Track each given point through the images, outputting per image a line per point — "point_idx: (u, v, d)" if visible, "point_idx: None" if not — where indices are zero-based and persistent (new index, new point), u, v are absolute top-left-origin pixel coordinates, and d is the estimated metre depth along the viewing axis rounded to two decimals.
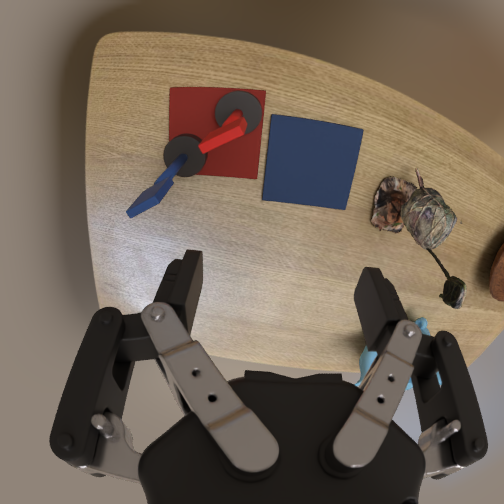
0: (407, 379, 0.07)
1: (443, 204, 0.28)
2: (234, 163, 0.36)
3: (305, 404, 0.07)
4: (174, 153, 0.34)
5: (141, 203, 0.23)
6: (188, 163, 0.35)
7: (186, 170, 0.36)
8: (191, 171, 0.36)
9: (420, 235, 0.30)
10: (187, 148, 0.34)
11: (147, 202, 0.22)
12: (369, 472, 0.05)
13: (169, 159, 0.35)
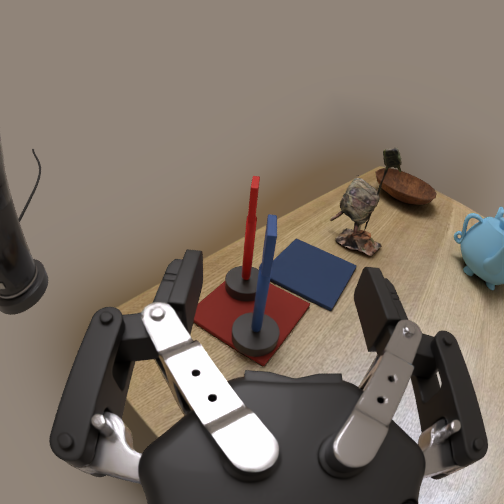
0: (407, 379, 0.07)
1: None
2: (287, 310, 0.38)
3: (305, 404, 0.07)
4: (246, 335, 0.32)
5: (268, 223, 0.24)
6: (264, 330, 0.33)
7: (270, 335, 0.32)
8: (274, 332, 0.33)
9: (368, 197, 0.47)
10: (250, 322, 0.34)
11: (270, 219, 0.25)
12: (369, 472, 0.05)
13: (249, 342, 0.31)
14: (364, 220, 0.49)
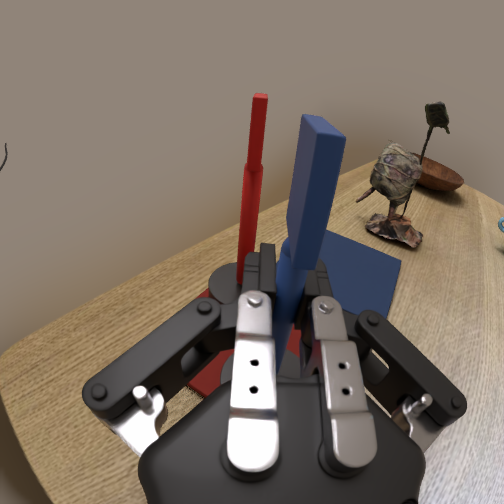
0: (356, 358, 0.08)
1: None
2: None
3: (305, 404, 0.07)
4: None
5: (309, 121, 0.08)
6: None
7: None
8: None
9: (409, 166, 0.32)
10: None
11: (311, 118, 0.09)
12: (369, 472, 0.05)
13: None
14: (404, 199, 0.34)
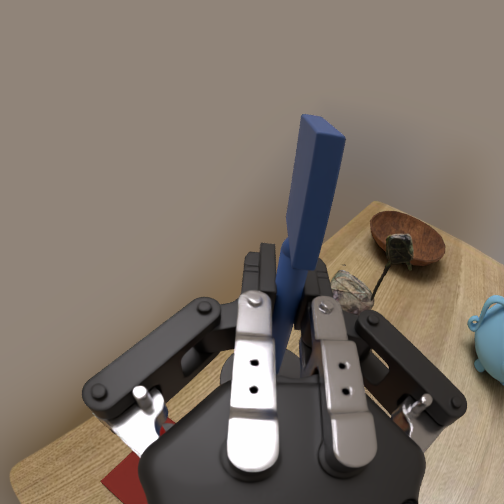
0: (356, 358, 0.08)
1: None
2: None
3: (305, 404, 0.07)
4: None
5: (309, 121, 0.08)
6: None
7: None
8: None
9: (356, 305, 0.32)
10: None
11: (311, 117, 0.09)
12: (369, 472, 0.05)
13: None
14: None
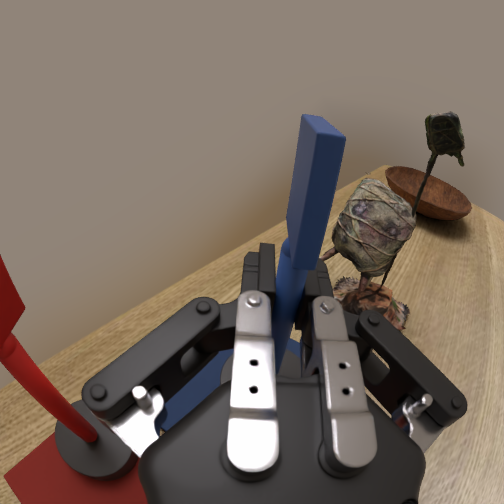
0: (357, 358, 0.08)
1: None
2: None
3: (305, 404, 0.07)
4: None
5: (309, 121, 0.08)
6: None
7: None
8: None
9: (394, 220, 0.21)
10: None
11: (311, 117, 0.09)
12: (369, 472, 0.05)
13: None
14: (383, 269, 0.23)
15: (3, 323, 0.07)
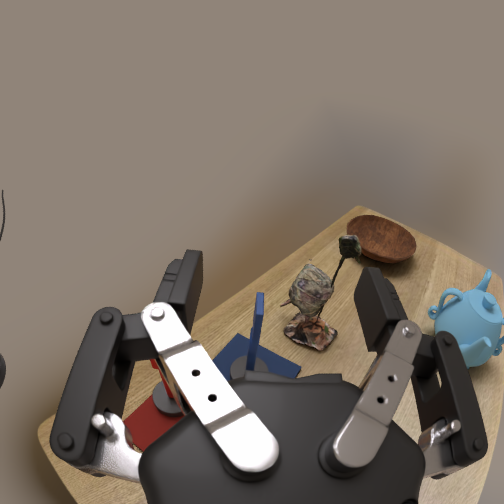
0: (407, 379, 0.07)
1: None
2: None
3: (305, 404, 0.07)
4: (242, 375, 0.38)
5: (257, 301, 0.31)
6: None
7: None
8: None
9: (318, 290, 0.43)
10: (244, 365, 0.40)
11: (258, 297, 0.31)
12: (369, 472, 0.05)
13: None
14: (315, 313, 0.45)
15: None
